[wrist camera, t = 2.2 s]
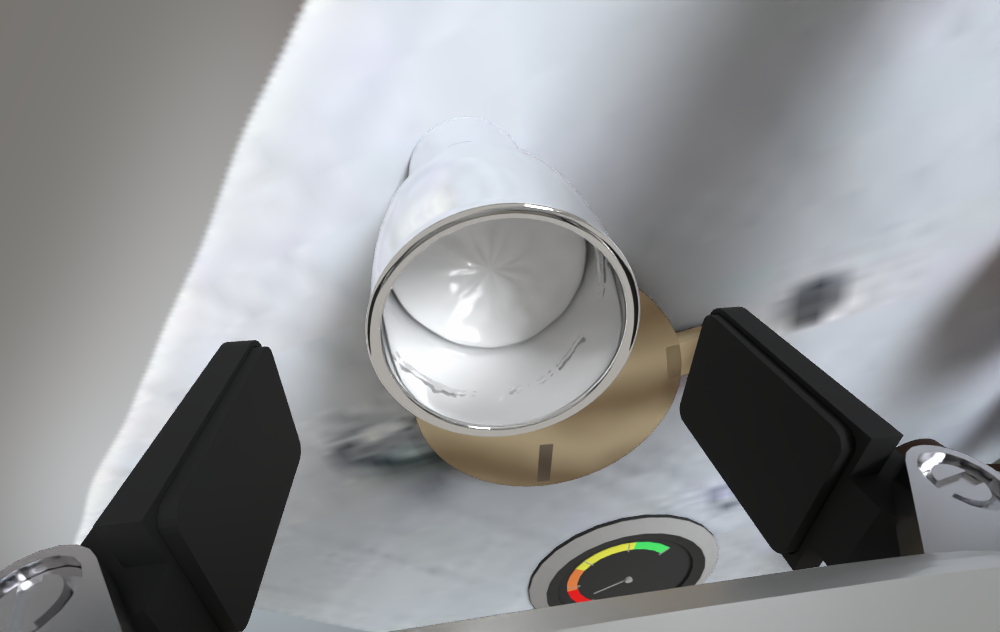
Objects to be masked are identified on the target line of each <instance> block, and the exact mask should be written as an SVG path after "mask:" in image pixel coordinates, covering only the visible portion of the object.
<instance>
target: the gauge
mask: <svg viewBox="0 0 1000 632" xmlns="http://www.w3.org/2000/svg"><path fill="white" fill-rule="evenodd" d="M717 560H718V546H717V543H716V541H715V538H714V536H713V534H712V533H711V532H710V531H709V530H707V529H706V528H705V527H704V526H703V525H702V524H699V523H697V522H695V521H693V520H690V519H688V518H684V517H678V516H673V515H640V516H634V517H627V518H621V519H618V520H614V521H611V522H607V523H604V524H601V525H597V526H595V527H593V528H590V529H588V530H586V531H584V532H582V533H579V534H577V535H575V536H573V537H572V538H570V539H569V540H567V541H565V542H564V543H562V544H561V545H559V546H558V547H556V548H555V549H554V550H553V551H552V552H551V553H549V554H548V555H547V556H546V557H545V558H544V559H543V560H542V561H541V562H540V564H539V565H538V567H537V568H536V570H535V571H534V573H533V574H532V577H531V581H530V584H529V593H530V600H531V603H532V605H533V606H534V608H535V609H539V608H546V607H552V606H559V605H565V604H572V603H579V602H585V601H592V600H599V599H605V598H612V597H619V596H625V595H632V594H639V593H645V592H652V591H659V590H666V589H672V588H679V587H686V586H692V585H699V584H703V583H704V582H705V581H706V579H707V578H708V577H709V576H710V574H711V573H712V572H713V569H714V567H715V565H716V563H717Z"/></svg>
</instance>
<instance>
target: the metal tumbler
mask: <svg viewBox="0 0 1000 632" xmlns="http://www.w3.org/2000/svg"><path fill="white" fill-rule="evenodd" d="M639 322H640V297H639V291H638V286H637V283H636V279H635V276H634V274H633V271H632V269H631V267H630V265H629V263H628V261H627V259H626V258H625V256H624V254H623V253H622V252H621V250H620V249H619V248H618V246H617V245H616V244H615V243H614V242H613V241H612V240H611V238H610V237H609V235H608V234H607V232H606V230H605V229H604V227H603V226H602V224H601V222H600V221H599V220H598V218H597V217H596V215H595V214H594V212H593V211H592V209H591V208H590V206H589V205H588V204H587V203H586V201H585V200H584V199H583V198H582V197H581V195H580V194H579V193H578V192H577V191H576V189H575V188H574V187H573V186H572V185H571V184H570V183H569V182H568V181H567V180H566V179H565V178H564V177H563V176H562V175H560V174H559V173H558V172H557V171H556V170H555V169H553V168H552V167H551V166H550V165H548V164H547V163H546V162H544V161H543V160H541V159H540V158H538V157H536V156H534V155H532V154H530V153H528V152H526V151H524V150H521V149H519V148H518V146H517V145H516V143H515V142H514V140H513V139H512V138H511V137H510V135H509V134H508V133H507V132H505V131H504V130H503V129H502V128H500V127H499V126H497V125H496V124H494V123H492V122H490V121H487V120H484V119H481V118H476V117H457V118H452V119H449V120H446V121H443V122H441V123H439V124H438V125H436V126H434V127H433V128H432V129H430V130H429V131H428V132H427V133H426V134H425V135H424V136H423V137H422V138H421V140H420V141H419V142H418V144H417V146H416V147H415V149H414V151H413V154H412V157H411V160H410V164H409V172H408V177H407V179H406V180H405V181H404V182H403V183H402V185H401V186H400V187H399V189H398V190H397V192H396V193H395V195H394V197H393V199H392V201H391V203H390V205H389V207H388V210H387V212H386V215H385V217H384V220H383V222H382V225H381V228H380V231H379V235H378V239H377V244H376V249H375V253H374V259H373V266H372V276H371V287H370V300H369V304H368V308H367V314H366V325H365V333H366V344H367V349H368V353H369V357H370V360H371V363H372V366H373V368H374V370H375V372H376V374H377V376H378V378H379V380H380V381H381V383H382V384H383V386H384V387H385V389H386V390H387V391H388V392H389V394H390V395H391V396H392V397H393V398H394V399H395V400H396V401H397V402H398V403H399V404H400V405H401V406H403V407H404V408H405V409H406V410H408V411H409V412H410V413H412V414H413V415H415V416H417V417H418V418H420V419H422V420H424V421H425V422H427V423H429V424H432V425H434V426H436V427H439V428H442V429H445V430H448V431H451V432H455V433H460V434H465V435H472V436H483V437H500V436H511V435H518V434H523V433H528V432H532V431H536V430H539V429H542V428H545V427H548V426H551V425H553V424H556V423H558V422H560V421H562V420H564V419H566V418H568V417H570V416H572V415H574V414H575V413H577V412H579V411H580V410H582V409H583V408H585V407H586V406H587V405H589V404H590V403H591V402H593V401H594V400H595V399H596V398H597V397H598V396H600V395H601V394H602V393H603V392H604V391H605V390H606V389H607V388H608V387H609V385H610V384H611V383H612V382H613V381H614V379H615V378H616V377H617V376H618V374H619V373H620V371H621V370H622V368H623V367H624V365H625V363H626V361H627V360H628V358H629V356H630V353H631V351H632V349H633V346H634V343H635V340H636V337H637V333H638V328H639Z"/></svg>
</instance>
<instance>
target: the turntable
mask: <svg viewBox="0 0 1000 632" xmlns="http://www.w3.org/2000/svg"><path fill="white" fill-rule="evenodd" d="M638 291H639V297H640V322H639V328H638V333H637V337H636V340H635V343H634V346H633V349H632V351H631V353H630V356H629V358H628V360H627V361H626V363H625V365H624V367H623V368H622V370H621V371H620V373H619V374H618V376H617V377H616V378H615V379H614V381H613V382H612V383H611V384H610V385H609V387H608V388H607V389H606V390H605V391H604V392H603V393H602V394H601V395H600V396H598V397H597V398H596V399H595V400H594V401H593V402H591V403H590V404H589V405H587V406H586V407H585V408H583V409H582V410H580V411H579V412H577V413H575V414H574V415H572V416H570V417H568V418H566V419H564V420H562V421H560V422H558V423H556V424H553V425H551V426H548V427H545V428H542V429H539V430H536V431H532V432H528V433H523V434H518V435H511V436H500V437H483V436H472V435H465V434H460V433H455V432H451V431H448V430H445V429H442V428H439V427H436V426H434V425H432V424H429V423H427V422H425V421H424V420H422V419H420V418H418V417H417V416H416V420H417V423H418V425H419V428H420V430H421V433H422V434H423V436H424V438H425V439H426V441H427V443H428V444H429V445H430V447H431V448H432V449H433V450H434V451H435V452H436V453H437V455H439V456H440V457H441V458H442V459H443V460H444V461H446V462H447V463H448V464H450V465H451V466H453V467H454V468H456V469H457V470H459V471H461V472H463V473H465V474H467V475H470V476H472V477H475V478H478V479H480V480H483V481H487V482H492V483H496V484H502V485H510V486H543V485H550V484H556V483H561V482H566V481H570V480H574V479H577V478H580V477H583V476H586V475H589V474H591V473H594V472H596V471H598V470H601V469H603V468H605V467H607V466H608V465H610V464H612V463H614V462H616V461H617V460H619V459H621V458H622V457H624V456H625V455H627V454H628V453H629V452H631V451H632V450H633V449H635V448H636V447H637V446H638V445H640V444H641V443H642V442H643V441H644V440H645V439H646V438H647V437H648V436H649V435H650V434H651V433H652V432H653V431H654V429H655V428H656V427H657V426H658V425H659V424H660V422H661V421H662V419H663V418H664V416H665V415H666V413H667V412H668V410H669V408H670V406H671V404H672V402H673V400H674V398H675V395H676V392H677V389H678V387H679V382H680V377H681V376H682V375H685V374H689V371H690V367H691V364H692V360H693V356H694V353H695V349H696V346H697V342H698V338H699V335H700V331H701V328H702V326H699V327H696V328H692V329H688V330H685V331H681V332H678V333H675V331H674V329H673V327H672V325H671V323H670V321H669V320H668V319H667V317H666V316H665V315H664V313H663V312H662V311H661V310H660V308H659V307H658V306H657V305H656V304H655V303H654V301H653V300H652V299H651V298H649V297H648V296H647V295H646V294H645V293H644V292H643V291H642V290H640V289H639V288H638Z"/></svg>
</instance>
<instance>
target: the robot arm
mask: <svg viewBox="0 0 1000 632" xmlns="http://www.w3.org/2000/svg"><path fill="white" fill-rule="evenodd" d="M680 415H681V418H682V420H683V422H684V423H685V425H686V426H687V428H688V429H689V431H690V432H691V433H692V435H693V436H694V438H695V439H696V441H697V442H698V444H699V445H700V446H701V448H702V449H703V451H704V452H705V454H706V455H707V456H708V458H709V459H710V461H711V462H712V464H713V465H714V466H715V468H716V469H717V471H718V472H719V474H720V475H721V477H722V478H723V479H724V481H725V482H726V484H727V485H728V487H729V488H730V489H731V491H732V492H733V494H734V495H735V497H736V498H737V500H738V501H739V502H740V504H741V505H742V507H743V508H744V510H745V511H746V512H747V514H748V515H749V517H750V518H751V520H752V521H753V522H754V524H755V525H756V527H757V528H758V530H759V531H760V533H761V534H762V535H763V537H764V538H765V540H766V541H767V543H768V544H769V545H770V547H771V548H772V549H773V550H774V551H776V552H777V553H780V554H782V555H783V557H784V558H785V560H786V561H787V562H788V564H789V565H790V567H791V568H792V570H793V571H789V572H782V573H775V574H768V575H762V576H755V577H748V578H741V579H734V580H727V581H720V582H713V583H706V584H699V585H692V586H686V587H679V588H672V589H666V590H659V591H652V592H645V593H639V594H632V595H625V596H619V597H612V598H605V599H599V600H592V601H585V602H579V603H572V604H565V605H559V606H552V607H546V608H539V609H532V610H526V611H519V612H512V613H506V614H499V615H493V616H487V617H480V618H474V619H467V620H461V621H454V622H448V623H442V624H435V625H429V626H422V627H416V628H409V629H403V630H397V631H390V632H1000V473H999V472H997V471H996V470H994V469H993V468H991V467H990V466H988V465H986V464H984V463H982V462H980V461H978V460H977V459H975V458H973V457H971V456H968V455H965V454H963V453H960V452H958V451H955V450H952V449H948V448H944V447H940V446H933V445H919V446H915V447H912V448H911V449H909V450H908V451H907V452H906V453H905V455H904V456H903V455H902V454H901V453H900V452H899V451H898V450H896V449H895V448H896V446H897V445H898V443H899V441H900V440H901V438H902V437H903V434H901V433H900V432H899V431H898V430H896V429H895V428H894V427H893V426H891V425H890V424H889V423H888V422H886V421H885V420H884V419H883V418H881V417H880V416H879V415H878V414H876V413H875V412H874V411H873V410H871V409H870V408H869V407H868V406H866V405H865V404H864V403H863V402H861V401H860V400H859V399H858V398H856V397H855V396H854V395H853V394H851V393H850V392H849V391H848V390H846V389H845V388H844V387H843V386H841V385H840V384H839V383H838V382H836V381H835V380H834V379H833V378H831V377H830V376H829V375H828V374H826V373H825V372H824V371H823V370H821V369H820V368H819V367H818V366H816V365H815V364H814V363H813V362H811V361H810V360H809V359H808V358H806V357H805V356H804V355H803V354H801V353H800V352H799V351H798V350H796V349H795V348H794V347H793V346H791V345H790V344H789V343H788V342H786V341H785V340H784V339H783V338H781V337H780V336H779V335H778V334H776V333H775V332H774V331H773V330H771V329H770V328H769V327H768V326H766V325H765V324H764V323H763V322H761V321H760V320H759V319H758V318H756V317H755V316H754V315H753V314H751V313H750V312H749V311H748V310H746V309H745V308H743V307H731V308H717V309H714V310H713V311H712V312H711V314H710V315H708V316H706V317H705V319H704V321H703V324H702V328H701V331H700V335H699V338H698V342H697V346H696V349H695V353H694V356H693V360H692V364H691V367H690V371H689V374H688V378H687V382H686V385H685V389H684V392H683V396H682V400H681V403H680ZM300 454H301V446H300V441H299V438H298V434H297V431H296V428H295V425H294V422H293V418H292V415H291V412H290V409H289V405H288V402H287V399H286V396H285V393H284V389H283V386H282V383H281V380H280V377H279V373H278V370H277V367H276V364H275V361H274V357H273V354H272V351H271V349H270V348H269V347H262V346H261V344H260V343H259V342H258V341H256V340H251V341H237V342H226V343H223V344H222V345H221V346H220V348H219V349H218V351H217V352H216V354H215V355H214V356H213V358H212V359H211V361H210V362H209V363H208V365H207V366H206V368H205V369H204V370H203V372H202V373H201V375H200V376H199V378H198V379H197V380H196V382H195V383H194V385H193V386H192V387H191V389H190V390H189V392H188V393H187V394H186V396H185V397H184V399H183V400H182V402H181V403H180V404H179V406H178V407H177V409H176V410H175V411H174V413H173V414H172V416H171V417H170V418H169V420H168V421H167V423H166V424H165V426H164V427H163V428H162V430H161V431H160V433H159V434H158V435H157V437H156V438H155V440H154V441H153V442H152V444H151V445H150V447H149V448H148V449H147V451H146V452H145V454H144V455H143V457H142V458H141V459H140V461H139V462H138V464H137V465H136V466H135V468H134V469H133V471H132V472H131V473H130V475H129V476H128V478H127V479H126V481H125V482H124V483H123V485H122V486H121V488H120V489H119V490H118V492H117V493H116V495H115V496H114V497H113V499H112V500H111V502H110V503H109V505H108V506H107V507H106V509H105V510H104V512H103V513H102V514H101V516H100V517H99V519H98V520H97V521H96V523H95V524H94V526H93V528H92V530H91V531H90V532H89V534H88V535H87V537H86V538H85V539H84V541H83V542H82V544H81V545H59V546H56V547H52V548H48V549H45V550H41V551H38V552H36V553H33V554H31V555H29V556H27V557H25V558H22V559H20V560H18V561H16V562H14V563H13V564H11V565H9V566H8V567H6V568H5V569H3V570H1V571H0V632H242V631H243V630H244V629H245V628H246V626H247V624H248V621H249V619H250V616H251V613H252V609H253V606H254V603H255V600H256V597H257V594H258V590H259V587H260V584H261V581H262V578H263V575H264V571H265V568H266V565H267V562H268V559H269V556H270V552H271V549H272V546H273V543H274V540H275V537H276V533H277V530H278V527H279V524H280V521H281V517H282V514H283V511H284V508H285V505H286V502H287V498H288V495H289V492H290V489H291V486H292V483H293V479H294V476H295V473H296V470H297V467H298V464H299V460H300ZM822 561H824V562H825V563H826V565H827V566H824V567H819V566H820V564H821V563H822ZM813 567H817V568H813ZM807 568H810V569H807ZM800 569H803V570H800ZM794 570H796V571H794Z"/></svg>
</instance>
